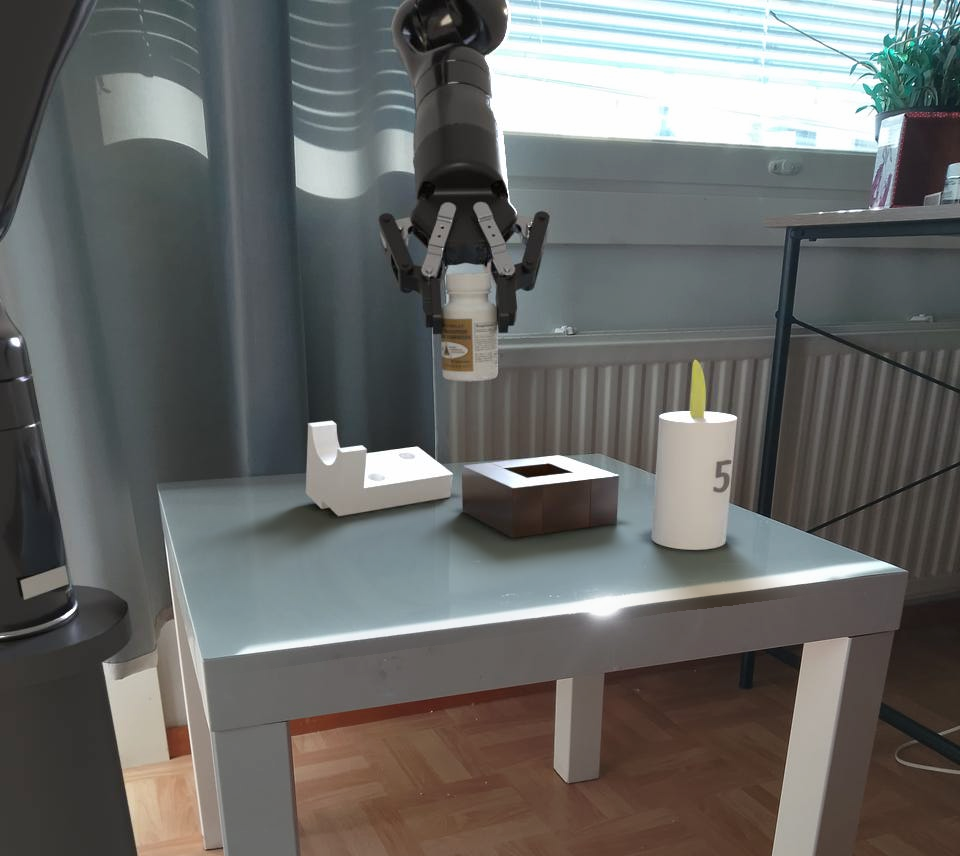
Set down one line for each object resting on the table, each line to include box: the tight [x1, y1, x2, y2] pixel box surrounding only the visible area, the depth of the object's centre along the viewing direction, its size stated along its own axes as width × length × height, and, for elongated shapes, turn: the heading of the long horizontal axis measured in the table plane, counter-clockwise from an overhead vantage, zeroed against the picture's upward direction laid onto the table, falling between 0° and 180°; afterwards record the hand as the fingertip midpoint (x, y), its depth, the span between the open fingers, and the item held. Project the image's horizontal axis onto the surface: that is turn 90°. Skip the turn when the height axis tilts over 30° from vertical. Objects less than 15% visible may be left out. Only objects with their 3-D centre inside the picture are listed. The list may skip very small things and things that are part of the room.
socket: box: [461, 454, 620, 539], centre depth 88 cm, size 11×11×4 cm
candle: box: [651, 359, 738, 551], centre depth 78 cm, size 6×6×15 cm
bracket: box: [305, 420, 454, 517], centre depth 94 cm, size 13×7×8 cm, turn 125°
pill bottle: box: [440, 272, 499, 382], centre depth 72 cm, size 4×4×8 cm
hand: (471, 325), depth 70 cm, fingers closed on pill bottle, 4 cm apart
